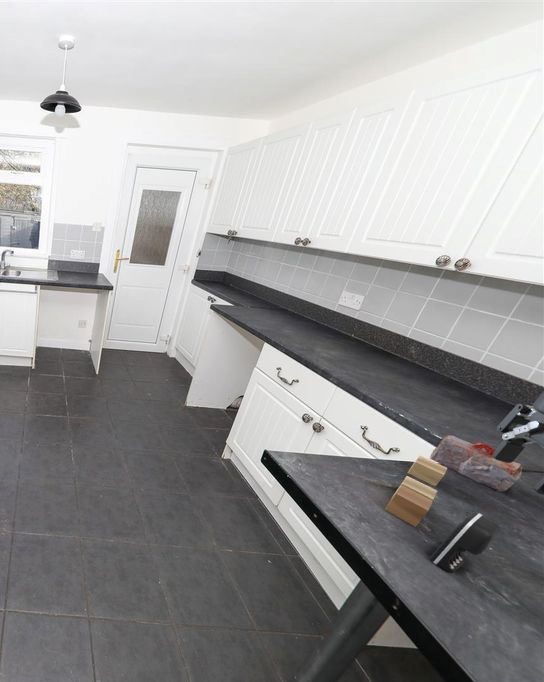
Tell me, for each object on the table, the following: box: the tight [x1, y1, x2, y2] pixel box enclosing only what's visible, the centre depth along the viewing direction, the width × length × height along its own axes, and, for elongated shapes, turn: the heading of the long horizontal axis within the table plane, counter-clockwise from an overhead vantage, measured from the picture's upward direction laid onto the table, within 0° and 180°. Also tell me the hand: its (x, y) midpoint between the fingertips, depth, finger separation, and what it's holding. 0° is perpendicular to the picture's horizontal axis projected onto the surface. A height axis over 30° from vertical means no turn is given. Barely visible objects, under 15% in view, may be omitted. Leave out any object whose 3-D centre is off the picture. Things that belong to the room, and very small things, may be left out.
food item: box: [429, 434, 523, 492], centre depth 87 cm, size 14×8×10 cm, turn 31°
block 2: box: [390, 475, 438, 502], centre depth 77 cm, size 5×5×5 cm
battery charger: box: [429, 511, 501, 574], centre depth 62 cm, size 7×4×11 cm, turn 114°
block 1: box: [407, 455, 448, 487], centre depth 85 cm, size 5×5×5 cm
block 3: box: [384, 484, 434, 528], centre depth 73 cm, size 5×5×5 cm
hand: (520, 475), depth 56 cm, fingers open, 8 cm apart
